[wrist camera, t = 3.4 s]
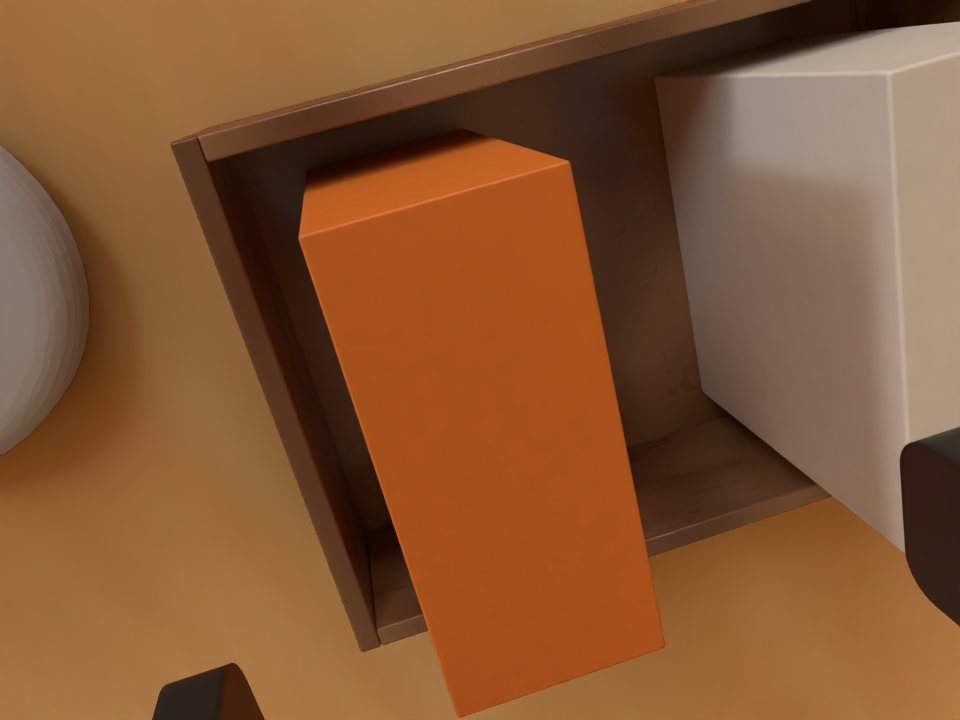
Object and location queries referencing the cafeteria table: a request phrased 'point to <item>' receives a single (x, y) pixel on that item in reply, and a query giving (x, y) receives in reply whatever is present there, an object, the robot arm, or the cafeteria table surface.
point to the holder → (36, 303)
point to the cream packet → (825, 247)
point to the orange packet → (486, 406)
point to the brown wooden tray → (610, 243)
